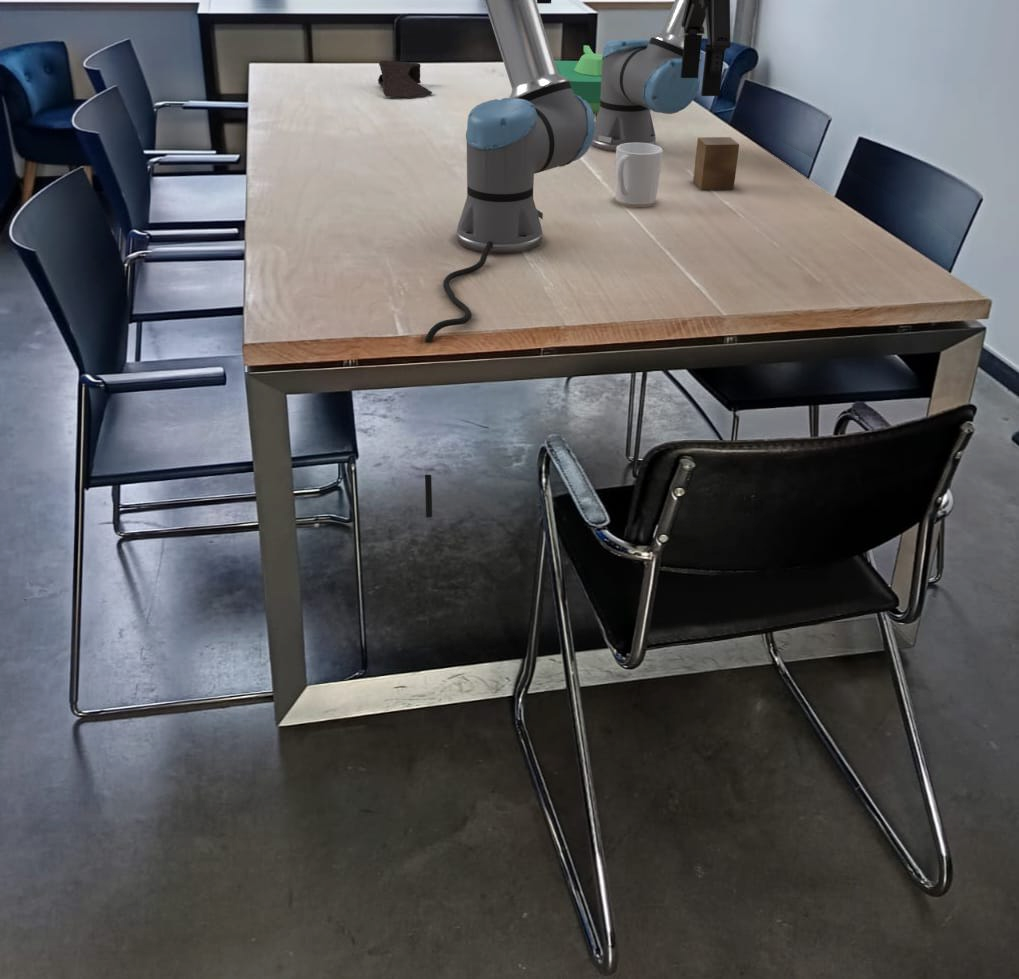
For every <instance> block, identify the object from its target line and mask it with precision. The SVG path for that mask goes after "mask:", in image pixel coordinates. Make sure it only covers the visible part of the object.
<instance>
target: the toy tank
mask: <svg viewBox="0 0 1019 979" xmlns="http://www.w3.org/2000/svg"><path fill="white" fill-rule="evenodd" d="M602 56H603V53H594V52H593V50H592V49H591V47H590V45H586V44H585V45H583V55H581V57H580V58H579V60H554V62H555V65H556V68H557V71H558V73H559V74H560V75H562V76H564V77H565V78H567V79H569V81H570V84H571V88H572V90H573V94H575V95H578V96H580V97H582V99H583V100H586V101H587V103H588V104H589V105H590V107H591V109H592V112H593V115H598V112H599V109H600V96H601V78H602Z"/></svg>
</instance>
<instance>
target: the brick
mask: <svg viewBox="0 0 1019 979" xmlns="http://www.w3.org/2000/svg"><path fill="white" fill-rule="evenodd" d="M696 142H697V143H696V153H695V160H694V170H693V178H692V182H693V183H694V184H695V185H696V187H697V188H698V189H700V191H709V190H710V191H711V190H715V191H717V190H718V191H719V190H720V191H721V190H734V189H735V182H736V174H737V166H738V160H739V150H740V143H738V142H737V141H736V140H735V139H733V138H732V137H731V136H718V137H717V136H712V137H711V136H709V137H707V136H706V137H697V141H696Z"/></svg>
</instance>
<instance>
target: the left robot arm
mask: <svg viewBox="0 0 1019 979" xmlns="http://www.w3.org/2000/svg"><path fill="white" fill-rule="evenodd" d="M483 2H484V5H485V8H486V11H487V15H488V18H489V20H490V24H491V26H492V30H493V34H494V36H495V39H496V43H497V46H498V49H499V52H500V55H501V58H502V62H503V64H504V68H505V71H506V74H507V77H508V80H509V83H510V87H511V93H510V95H509V97H504V98H501V99H491V100H487V101H484V102H481V103H479V104H478V105H476V106H474V107H473V108H472V109H471V110H470V112H469V113H468V116H467V123H466V124H467V126H466V127H467V128H466V131H465V132H466V134H465V140H466V192H467V193H466V198H465V202H464V205H463V209H462V211H461V214H460V218H459V220H458V224H457V227H456V241H457V243H458V244H459V245H461V246H462V247H464V248H466V249H468V250H470V251H475V252H479V253H481V255H480V259H479V261H477V263H476V264H473V265H471V266H469V267H465V268H461V269H457V270H455V271H452V272H450V273H448V275H446V276H445V278H444V279H443V282H442V284H443V285H442V286H443V290H444V291H445V293H446V295H447V297H448V298H449V300H450V302H451V303H452V304H453V305H454V306H456V307H457V308H458V309H460V310H461V311H462V312H463V313H464V316H462V317H456V318H449V319H444V320H440V321H438V322H437V323H436V324H434V325H433V326H432V327H431V328H430V329H429V330H428V332H427V334H426V336H425V338H424V343H426V344H428V343H429V344H430V343H432V341H433V339H434V337H435V336H436V334H437V333H438V332H439V331H440V330H442V329H444V328H447V327H451V326H459V325H465V324H467V323H468V322H469V321H470V320H471V319H472V311H471V309H470V308H469V307H468V306H467V305H466V304H465V303H464V302H462V301H461V300H460V299H458V298H457V296H456V294H455V293H454V291H453V289H452V288H451V285H450V283H451V281H453V280H454V279H456V278H459V277H462V276H466V275H469V274H472V273H474V272H477V271H479V270H481V269H482V268H483V266H484V265H485V264H486V262H487V259H488V256H489V254H497V255H499V254H500V255H506V254H507V255H508V254H517V253H524V252H527V251H530V250H533V249H536V248H538V247H539V246H540V245H541V244H542V243H543V229H542V224H541V221H540V220H543V219H544V213H543V212H542V211H540V210H539V209H537V206H536V204H535V199H534V184H535V181H534V180H535V174H539V173H542V172H545V171H546V172H547V171H549V170H552V169H555V168H558V167H559V168H561V167H565V166H567V165H570V164H572V163H573V162H575V161H578V160H579V159H581V158H582V157H584V155H586V154H587V152H588V151H589V150H590V148H591V146H592V145H591V142H592V141H593V138H594V133H595V120H596V119H595V114H593V112H592V109H591V107H590V105H589V104H588V103H587V101H586V100H583V99H582V97H580V96H578V95H575V94H573V90H572V88H571V84H570V81H569V79H567V78H565V77H564V76H562V75H560V74H559V73H558V71H557V68H556V65H555V59H554V55H553V53H552V52H553V51H552V49H551V45H550V43H549V39H548V37H547V34H546V33H547V32H546V30H545V27H544V23H543V20H542V16H541V13H540V10H539V6H538V4H537V0H483ZM705 17H706V26H707V29H706V31H705V32H704V27H702V26H703V23H704V20H705ZM682 27H684V33H685V34H687V35H685V36H684V46H683V57H682V67H681V78H698V71H699V70H700V62H701V59H700V56H701V50H702V43H703V41H702V40H703V38H702V35H697V34H704V35H705V34H706V35H707V36H706V37H707V44H705V45H704V46H703V51H704V52H705V53H704V63H703V64H704V65H703V70H702V71H703V73H702V83H701V89H700V90H701V91H700V96H702V97H720V95H721V87H722V78H723V70H724V61H725V60H724V59H725V52H726V50H728V49H730V48H731V45H732V44H731V0H687V2H686V6H685V11H684V15H683V20H682ZM424 485H425V488H424V490H425V517H426V518H432V517H433V486H432V474H424Z"/></svg>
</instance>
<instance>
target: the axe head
mask: <svg viewBox="0 0 1019 979" xmlns="http://www.w3.org/2000/svg"><path fill="white" fill-rule="evenodd" d="M378 66H379V68H380V72H381V74H379V75H378V79H377V84H378V85H379V86H380V87H381V88H382V89H383V95H384V96H385V97H388V98H394V99H395V98H396V99H403V98H405V99H406V98H407V99H411V98H418V97H425V96H429V95H432V94H433V91H431V90H430V89H428V88H427V87H425V86H422V85H421V84H422V82H421V63H419V62H410V61H408V62H407V61H397V60H388V59H387V60H380V61H379V62H378Z"/></svg>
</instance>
